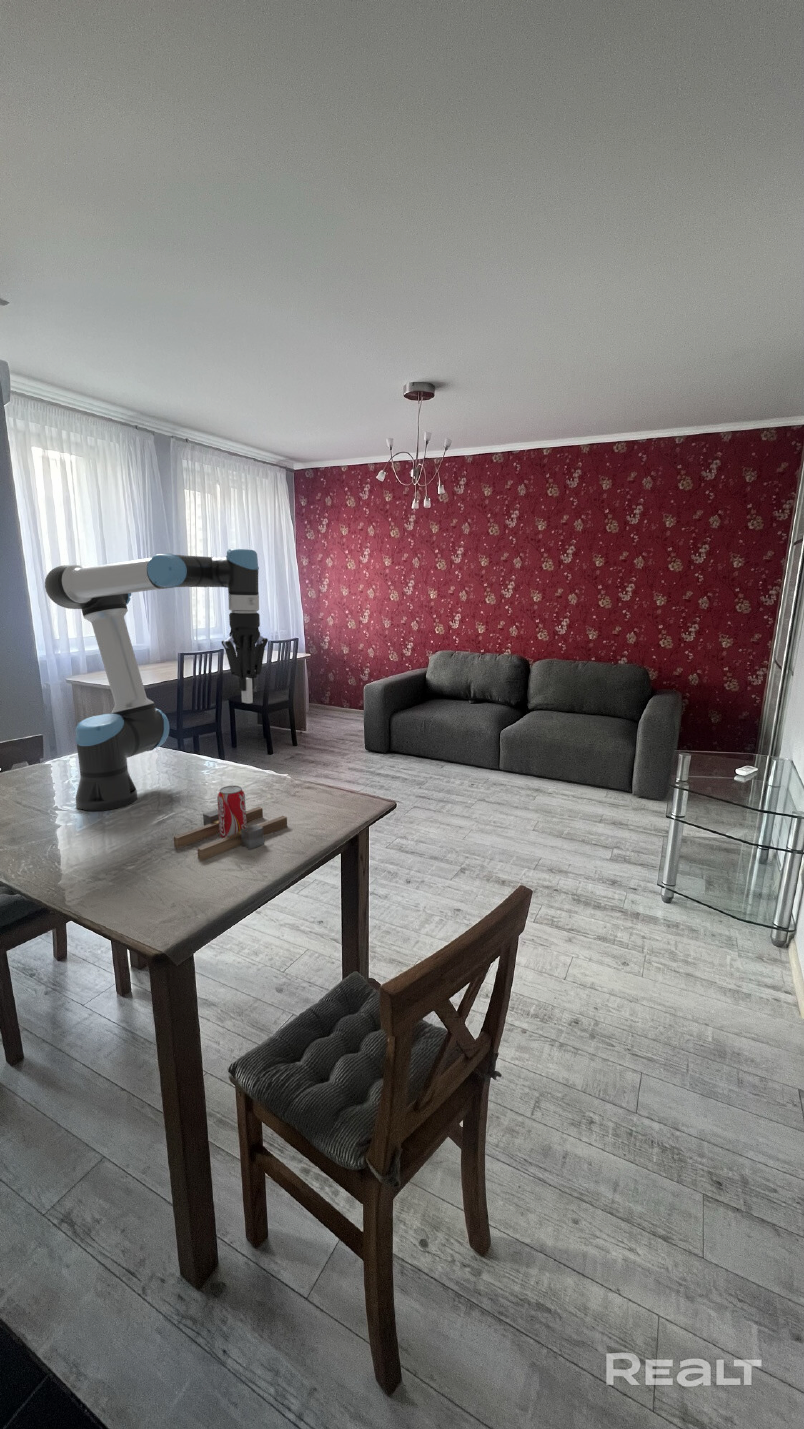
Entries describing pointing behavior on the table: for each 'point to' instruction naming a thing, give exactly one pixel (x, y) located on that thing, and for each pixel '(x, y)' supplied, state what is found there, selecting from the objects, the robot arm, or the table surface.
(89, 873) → the table surface
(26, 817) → the table surface
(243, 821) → the beverage can
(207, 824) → the wooden bars with blocks
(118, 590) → the robot arm
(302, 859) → the table surface
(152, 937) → the table surface
